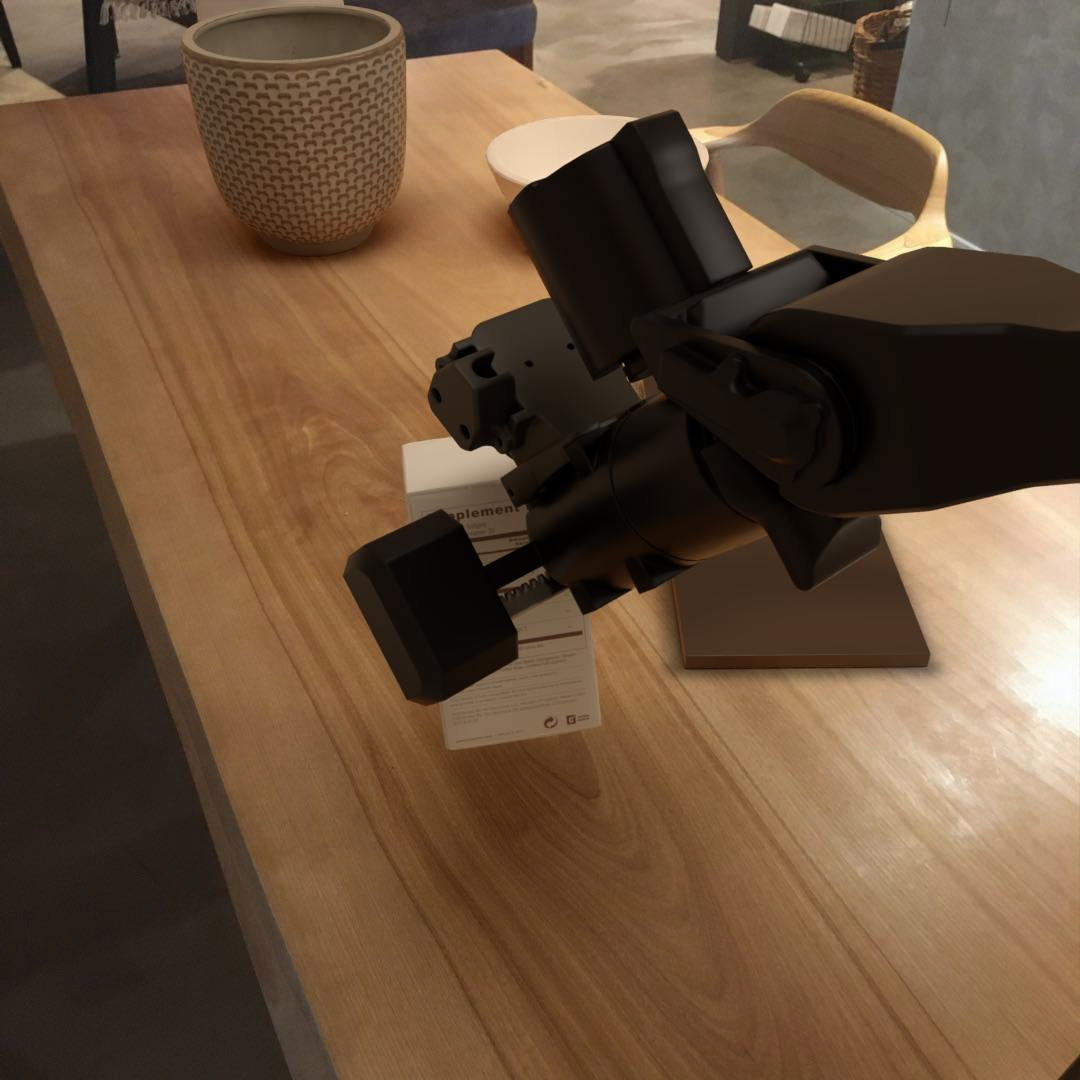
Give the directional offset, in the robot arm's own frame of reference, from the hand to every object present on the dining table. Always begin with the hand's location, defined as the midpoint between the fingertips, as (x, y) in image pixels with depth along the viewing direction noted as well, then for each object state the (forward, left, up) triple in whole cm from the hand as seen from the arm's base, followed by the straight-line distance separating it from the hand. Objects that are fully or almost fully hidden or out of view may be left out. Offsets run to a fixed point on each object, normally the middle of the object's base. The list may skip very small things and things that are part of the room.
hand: (494, 574), depth 54 cm
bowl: (+51, -47, -13) cm, 70 cm away
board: (+9, -28, -13) cm, 32 cm away
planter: (+67, -25, -13) cm, 72 cm away
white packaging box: (-2, 0, -7) cm, 7 cm away
